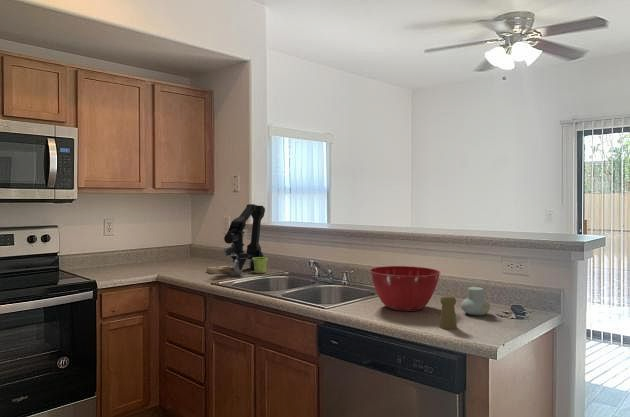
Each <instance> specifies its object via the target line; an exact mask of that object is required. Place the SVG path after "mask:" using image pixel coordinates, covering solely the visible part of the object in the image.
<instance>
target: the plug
mask: <svg viewBox="0 0 630 417" xmlns="http://www.w3.org/2000/svg"><path fill="white" fill-rule="evenodd" d="M233 267H234V273H235V274H242V272H243V269H242V270H239V264H238V260H237V259H235V261H234V263H233ZM242 275H243V274H242Z"/></svg>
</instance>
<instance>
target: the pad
mask: <svg viewBox="0 0 630 417" xmlns="http://www.w3.org/2000/svg"><path fill="white" fill-rule="evenodd" d="M228 274H229V275H231V276H239V275H248V273H247V272H244V271H242V274H235V273H234V272H232V273H228Z"/></svg>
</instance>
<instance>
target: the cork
mask: <svg viewBox="0 0 630 417" xmlns="http://www.w3.org/2000/svg"><path fill="white" fill-rule="evenodd" d="M456 303H457V298H456V296H453V295H447V294H446V295H441V297H440V304H441V311H440V318H439V326H438V327H439V328H441V329H442V330H443V329H444V330H456V329H458V325H457V324H458V323H457V317H456V309H455V305H456Z"/></svg>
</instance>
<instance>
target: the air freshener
mask: <svg viewBox="0 0 630 417" xmlns="http://www.w3.org/2000/svg"><path fill="white" fill-rule="evenodd" d="M484 292H485V289H484V288H483V287H479V286H478V287H477V286H472V287H471V286H470V287H468V288H467V298H465V299H463V300H462V302H461V304H460V307H461V309H462V311H463V312H464V313H466V314H468V315H472V316H479V317H480V316H481V317H482V316H485V315H486V314H488V313H489V311H490V309H491V304H490V302H489V301H488V300H486V299H485V298H484V297H485V296H484V294H485V293H484Z"/></svg>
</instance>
